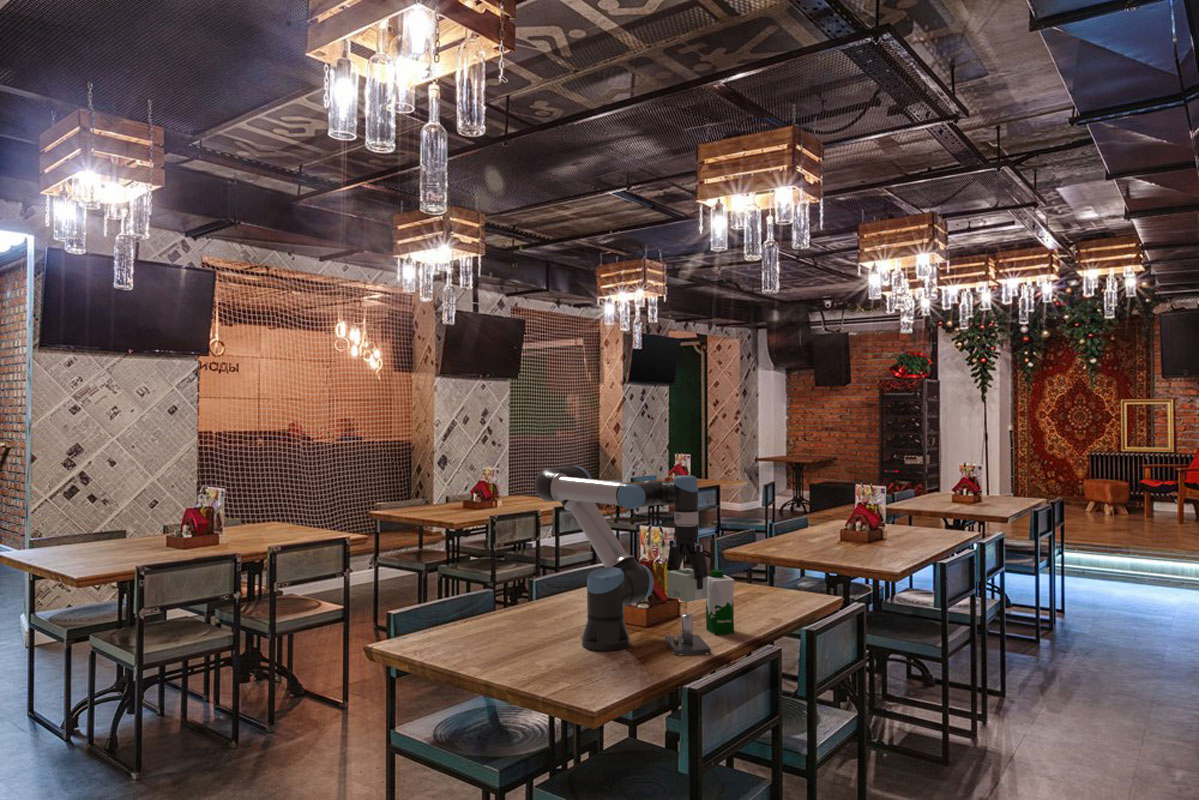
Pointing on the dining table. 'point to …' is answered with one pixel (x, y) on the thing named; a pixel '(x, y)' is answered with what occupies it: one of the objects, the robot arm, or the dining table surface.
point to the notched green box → (684, 585)
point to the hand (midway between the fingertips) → (687, 596)
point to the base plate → (688, 647)
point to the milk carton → (720, 603)
